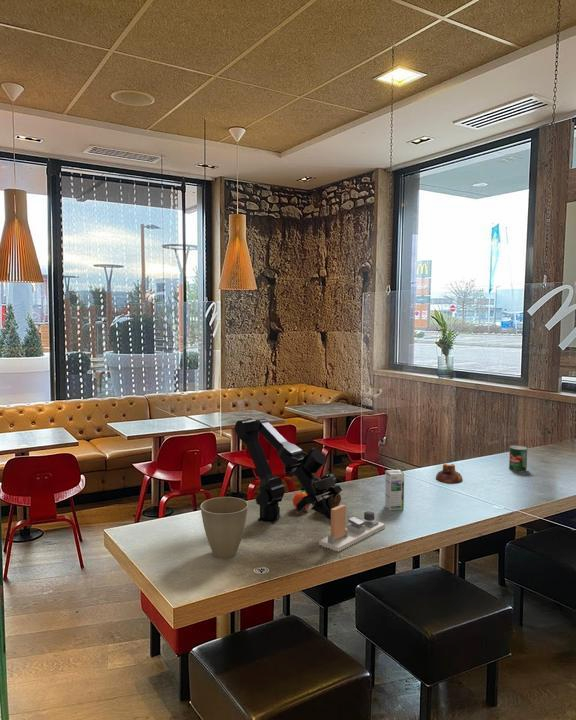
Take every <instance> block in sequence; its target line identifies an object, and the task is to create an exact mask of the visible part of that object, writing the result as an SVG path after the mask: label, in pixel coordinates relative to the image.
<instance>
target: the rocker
mask: <svg viewBox="0 0 576 720" xmlns="http://www.w3.org/2000/svg"><path fill="white" fill-rule="evenodd" d="M347 521H348V523H352V525H353V526H354V525H355V526H357V527H360V526H362V525H364V522H363V521H362V520H361V519H359V518H357V517H356V516H353V517H350V518H348V520H347Z"/></svg>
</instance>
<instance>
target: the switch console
mask: <svg viewBox="0 0 576 720" xmlns="http://www.w3.org/2000/svg"><path fill="white" fill-rule="evenodd" d="M361 521H363V522H364V525H362V526H360V527H357V526H355V525H354V526H353V525H352V523H350V522H348V523H346V524H345V536H343V537H341V538H339V539H337V540H335V541H334V536H332V535H331V534H328V535H327V536H326V537H324V538H322V539H319V541H318V545H319V546H320V545H322V546H321V547H323V546H324V548H326V547H327V548H326V549H328V548H330V549H329V550H331V549H333V550H332V551H334V550H335V551H334V552H336V551H338V552H337V553H339V551H340V552H341V550H342V551H343V549H344V550H346V549H348V548H349V547H351V546H353V545H355V544H357V543H359V542H361V541H363V540H365V539H367V538H368V537H367V536H369V537H371V536H372V534H373V533H375V532H376V533H378V532H380V531H382V530H384V529H385V528H386V524H385V523H383V522H379V521H377V520H375V519H374V520H372V521H368V520H365V519H364V518H363V519H362V520H361ZM376 533H375V534H376ZM370 535H371V536H370ZM373 535H374V534H373ZM366 537H367V538H366ZM364 538H365V539H364ZM362 539H363V540H362ZM360 540H361V541H360ZM358 541H359V542H358ZM356 542H357V543H356ZM354 543H355V544H354ZM352 544H353V545H352ZM350 545H351V546H350ZM347 547H348V548H347ZM345 548H346V549H345Z"/></svg>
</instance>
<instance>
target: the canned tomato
mask: <svg viewBox="0 0 576 720" xmlns="http://www.w3.org/2000/svg"><path fill="white" fill-rule="evenodd" d="M508 463H509V464H508V470H509V471H513V472H516V471H518V472H517V473H522V472H521V471H525V472H527V471H526V470H527V468H528V467H527V465H528V447H527V446H524V445H515V444H514V445H509V462H508ZM519 471H520V472H519Z"/></svg>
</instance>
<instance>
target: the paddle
mask: <svg viewBox="0 0 576 720" xmlns="http://www.w3.org/2000/svg"><path fill="white" fill-rule="evenodd" d="M346 508H347V506H346V505H345V504H339V506H337V507H335V508H332V509H331V520H330V535H332V536H334V541H335V540H337V539H339V538H341V537H343V536H345V528H346V525H347V523H346V522H347V521H346V517H347V516H346V515H347V513H346V510H347V509H346Z"/></svg>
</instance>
